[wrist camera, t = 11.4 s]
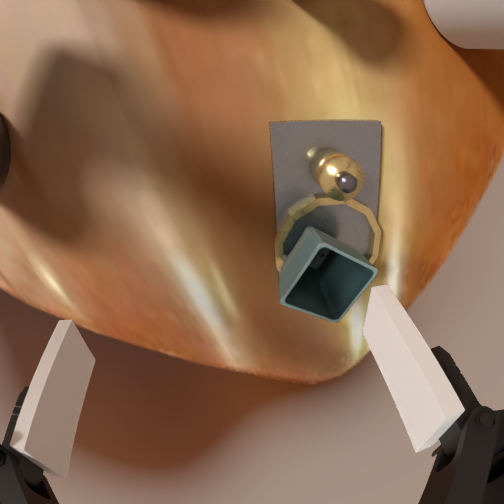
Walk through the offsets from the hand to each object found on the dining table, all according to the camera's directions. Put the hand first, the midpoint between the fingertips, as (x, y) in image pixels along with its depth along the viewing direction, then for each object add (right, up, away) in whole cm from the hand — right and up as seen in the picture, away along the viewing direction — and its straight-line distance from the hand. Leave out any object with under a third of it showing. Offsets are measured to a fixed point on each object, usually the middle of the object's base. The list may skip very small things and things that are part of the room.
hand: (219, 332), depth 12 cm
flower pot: (+10, +4, +29) cm, 31 cm away
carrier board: (+11, +9, +28) cm, 31 cm away
